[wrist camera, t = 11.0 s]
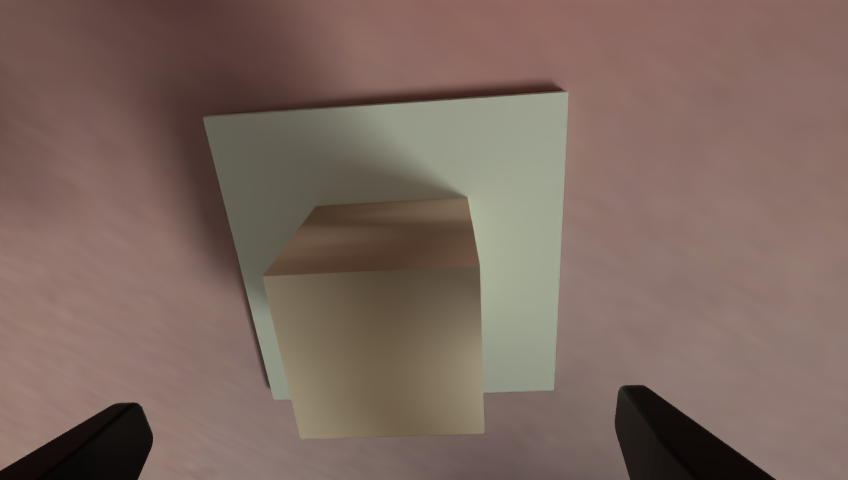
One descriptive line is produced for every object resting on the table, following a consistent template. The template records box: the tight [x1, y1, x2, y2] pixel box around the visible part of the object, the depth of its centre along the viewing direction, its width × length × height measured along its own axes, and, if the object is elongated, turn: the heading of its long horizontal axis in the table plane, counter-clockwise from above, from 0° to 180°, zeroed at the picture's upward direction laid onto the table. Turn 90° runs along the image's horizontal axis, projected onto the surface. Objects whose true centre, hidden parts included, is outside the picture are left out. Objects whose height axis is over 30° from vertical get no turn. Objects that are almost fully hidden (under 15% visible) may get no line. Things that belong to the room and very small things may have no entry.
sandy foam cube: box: [262, 197, 484, 439], centre depth 12 cm, size 4×4×4 cm
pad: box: [202, 90, 569, 400], centre depth 15 cm, size 10×10×1 cm
